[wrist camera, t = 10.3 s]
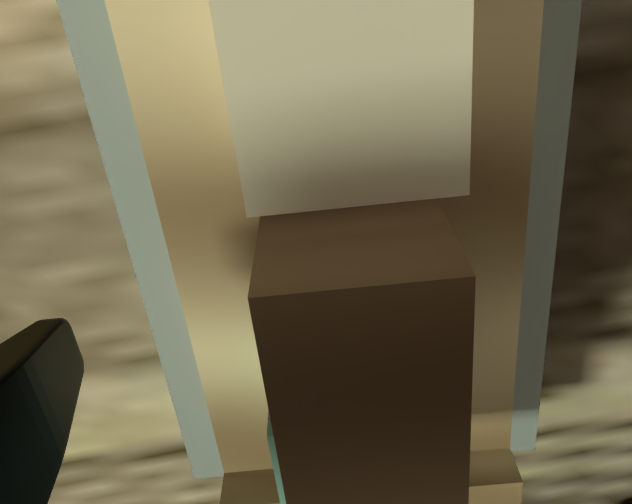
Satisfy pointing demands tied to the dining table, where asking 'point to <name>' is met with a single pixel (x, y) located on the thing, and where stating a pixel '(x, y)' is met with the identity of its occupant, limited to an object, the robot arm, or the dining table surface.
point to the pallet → (231, 236)
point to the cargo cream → (346, 100)
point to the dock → (153, 258)
